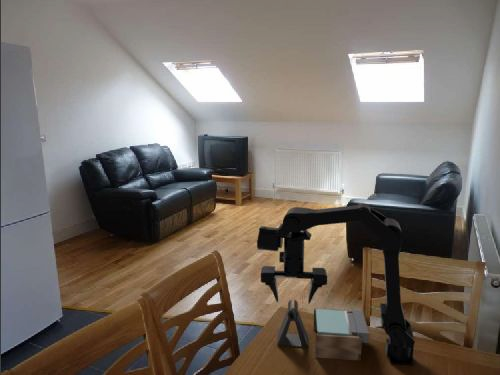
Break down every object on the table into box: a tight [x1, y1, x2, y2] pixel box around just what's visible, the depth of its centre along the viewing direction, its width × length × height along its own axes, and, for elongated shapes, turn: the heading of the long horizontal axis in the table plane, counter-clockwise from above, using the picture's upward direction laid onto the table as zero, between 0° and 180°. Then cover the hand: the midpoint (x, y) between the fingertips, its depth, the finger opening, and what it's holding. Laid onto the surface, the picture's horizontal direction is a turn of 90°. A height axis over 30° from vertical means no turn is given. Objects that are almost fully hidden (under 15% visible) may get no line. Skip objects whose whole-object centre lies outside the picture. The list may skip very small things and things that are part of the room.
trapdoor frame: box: [313, 308, 363, 361], centre depth 115 cm, size 12×14×7 cm
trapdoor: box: [315, 308, 370, 344], centre depth 114 cm, size 14×12×3 cm
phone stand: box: [276, 299, 309, 349], centre depth 116 cm, size 9×6×12 cm, turn 84°
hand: (293, 301), depth 114 cm, fingers open, 9 cm apart
